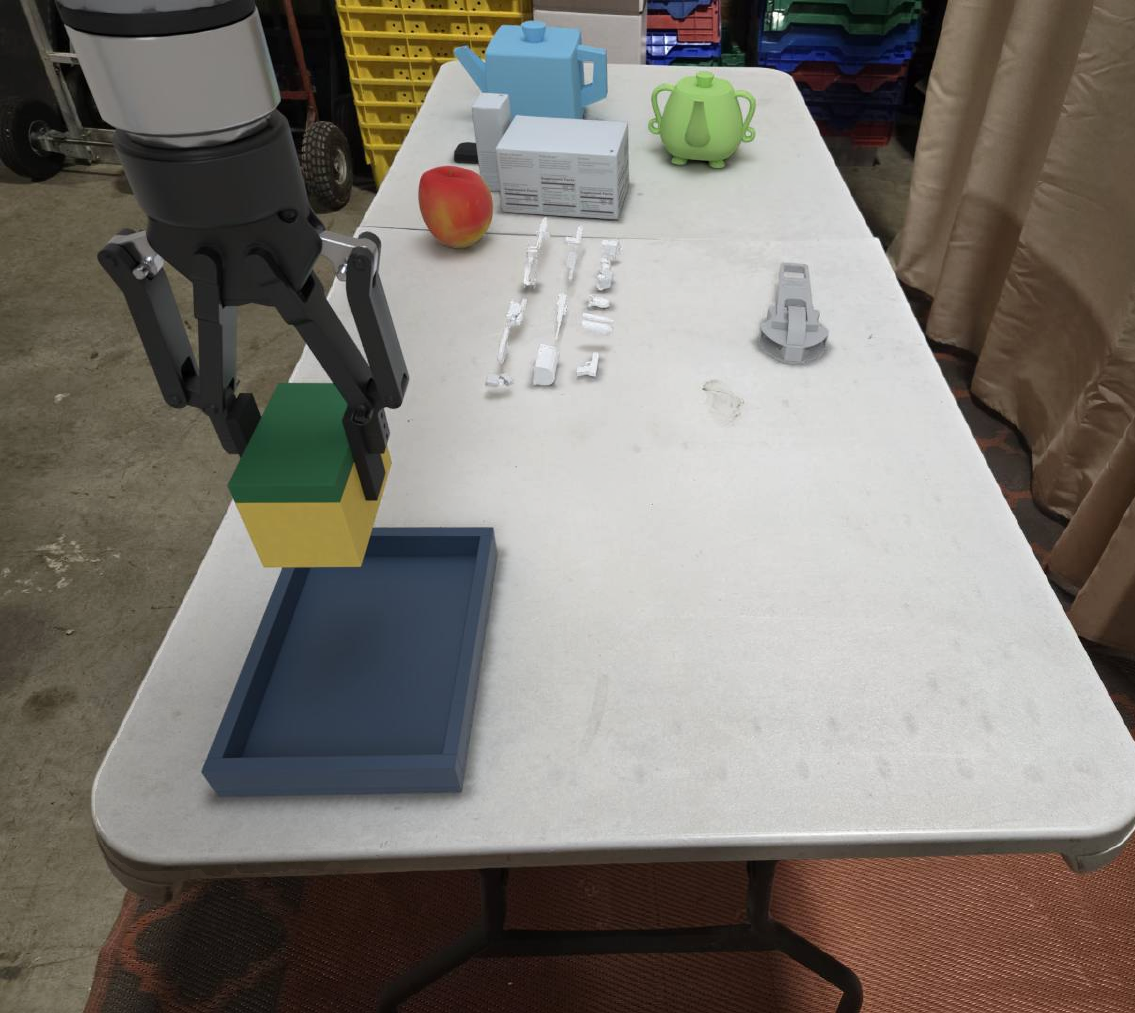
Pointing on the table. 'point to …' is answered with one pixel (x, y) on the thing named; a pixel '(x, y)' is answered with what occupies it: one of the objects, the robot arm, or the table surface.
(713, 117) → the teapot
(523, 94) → the container
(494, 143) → the cosmetic box
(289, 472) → the sponge
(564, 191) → the supplement box
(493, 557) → the tray
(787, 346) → the zipper pull
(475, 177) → the apple
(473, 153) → the remote control
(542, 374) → the miniature set
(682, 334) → the table surface
